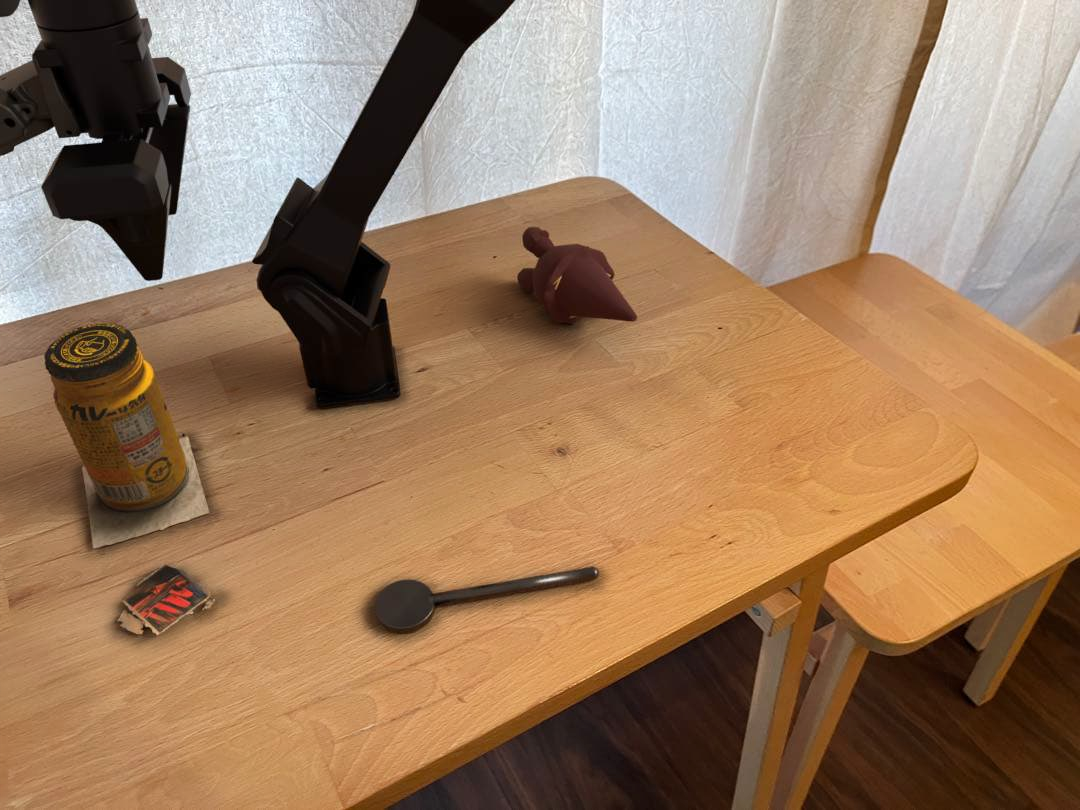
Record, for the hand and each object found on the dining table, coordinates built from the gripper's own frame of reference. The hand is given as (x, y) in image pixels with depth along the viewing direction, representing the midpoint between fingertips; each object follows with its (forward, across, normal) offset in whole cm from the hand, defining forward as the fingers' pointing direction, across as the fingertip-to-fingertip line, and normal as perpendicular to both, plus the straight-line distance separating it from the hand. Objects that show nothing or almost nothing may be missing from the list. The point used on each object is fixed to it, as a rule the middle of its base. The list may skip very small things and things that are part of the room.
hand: (162, 244), depth 63 cm
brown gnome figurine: (+12, -2, +31) cm, 33 cm away
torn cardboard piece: (+12, +23, -1) cm, 26 cm away
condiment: (+12, +12, -3) cm, 18 cm away
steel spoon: (+12, +26, +19) cm, 34 cm away
